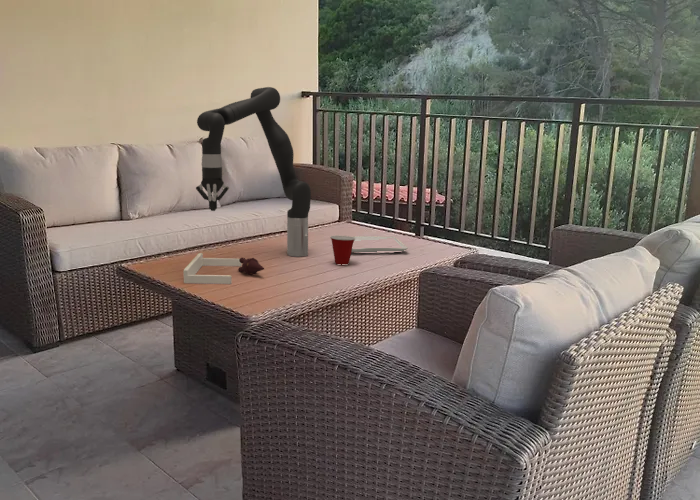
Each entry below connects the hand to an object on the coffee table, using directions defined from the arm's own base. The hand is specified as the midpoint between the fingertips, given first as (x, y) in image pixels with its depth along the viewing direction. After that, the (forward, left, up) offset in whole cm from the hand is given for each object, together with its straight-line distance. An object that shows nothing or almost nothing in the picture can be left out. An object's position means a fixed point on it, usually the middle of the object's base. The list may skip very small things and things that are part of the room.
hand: (213, 210), depth 246 cm
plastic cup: (-51, -18, -25) cm, 60 cm away
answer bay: (-1, +2, -25) cm, 25 cm away
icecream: (-15, +2, -25) cm, 29 cm away
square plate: (-66, -48, -26) cm, 86 cm away
